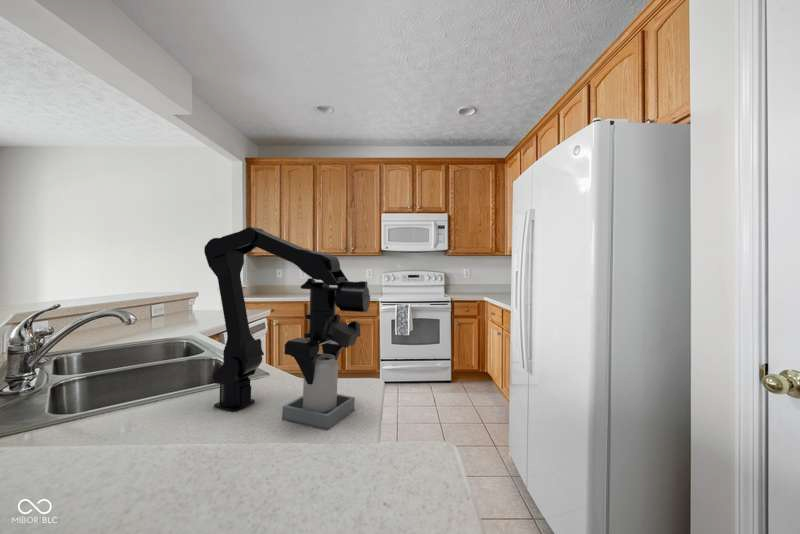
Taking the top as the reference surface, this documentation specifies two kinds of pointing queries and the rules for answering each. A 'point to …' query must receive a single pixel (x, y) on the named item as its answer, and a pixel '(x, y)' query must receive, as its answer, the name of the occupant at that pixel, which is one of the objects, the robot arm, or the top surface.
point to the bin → (315, 419)
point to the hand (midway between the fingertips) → (320, 379)
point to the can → (322, 386)
